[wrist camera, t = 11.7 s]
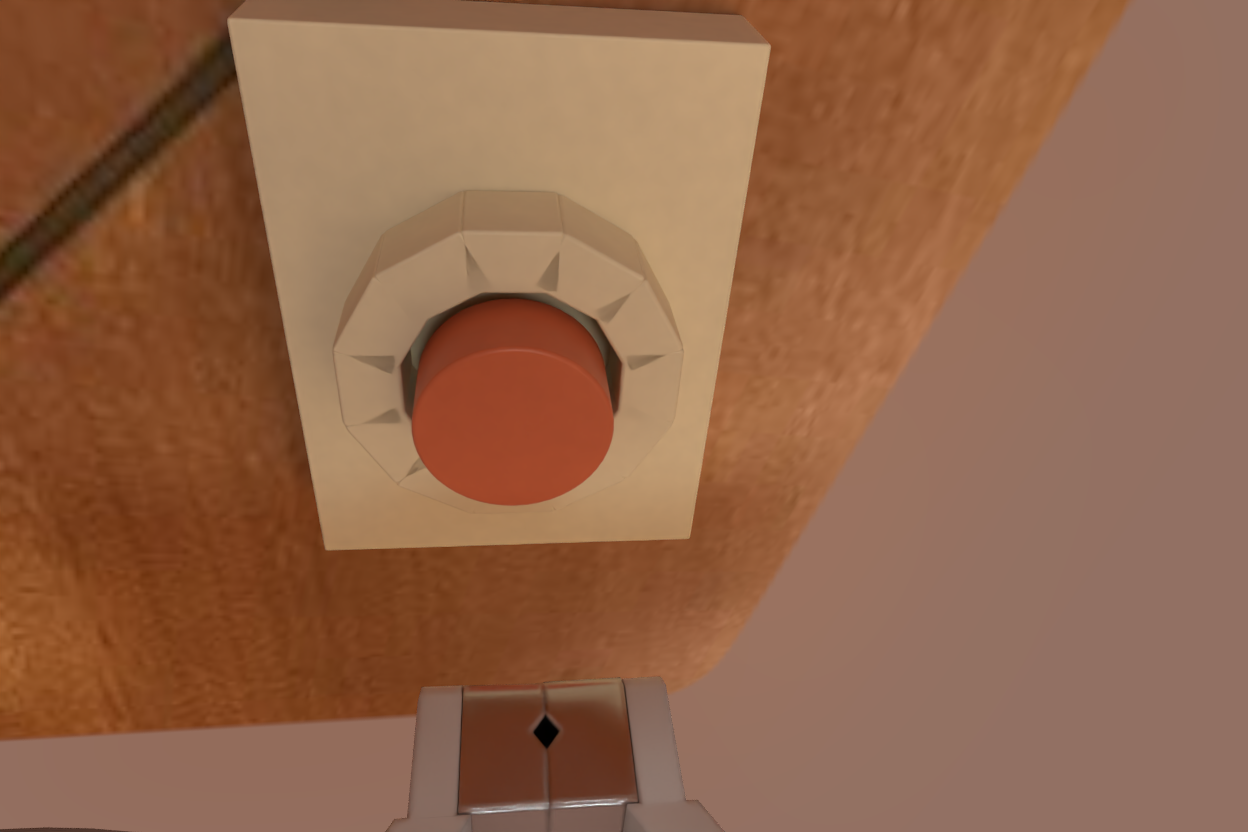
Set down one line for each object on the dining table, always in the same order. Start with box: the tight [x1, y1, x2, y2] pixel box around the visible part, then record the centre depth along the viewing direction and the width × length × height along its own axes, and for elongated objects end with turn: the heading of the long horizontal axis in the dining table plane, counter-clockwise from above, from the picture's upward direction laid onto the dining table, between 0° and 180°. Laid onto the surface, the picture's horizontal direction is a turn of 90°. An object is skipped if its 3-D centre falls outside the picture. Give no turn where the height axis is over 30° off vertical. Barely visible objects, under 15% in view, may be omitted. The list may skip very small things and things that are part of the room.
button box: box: [227, 0, 771, 550], centre depth 18 cm, size 12×9×4 cm
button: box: [411, 298, 614, 506], centre depth 16 cm, size 4×4×2 cm
